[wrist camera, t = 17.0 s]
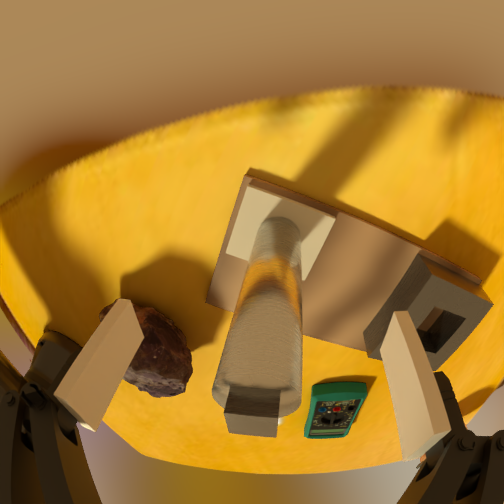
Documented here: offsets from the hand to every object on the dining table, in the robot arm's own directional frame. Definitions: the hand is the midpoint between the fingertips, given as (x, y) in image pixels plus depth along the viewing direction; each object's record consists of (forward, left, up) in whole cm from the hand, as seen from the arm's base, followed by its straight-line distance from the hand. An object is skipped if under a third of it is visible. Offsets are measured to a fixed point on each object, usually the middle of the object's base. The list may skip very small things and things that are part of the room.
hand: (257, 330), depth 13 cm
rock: (-8, -16, -11) cm, 21 cm away
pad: (0, 0, -11) cm, 11 cm away
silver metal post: (0, 0, -10) cm, 10 cm away
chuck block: (+17, -2, -11) cm, 20 cm away
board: (+9, -3, -11) cm, 15 cm away
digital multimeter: (+18, -23, -12) cm, 32 cm away
